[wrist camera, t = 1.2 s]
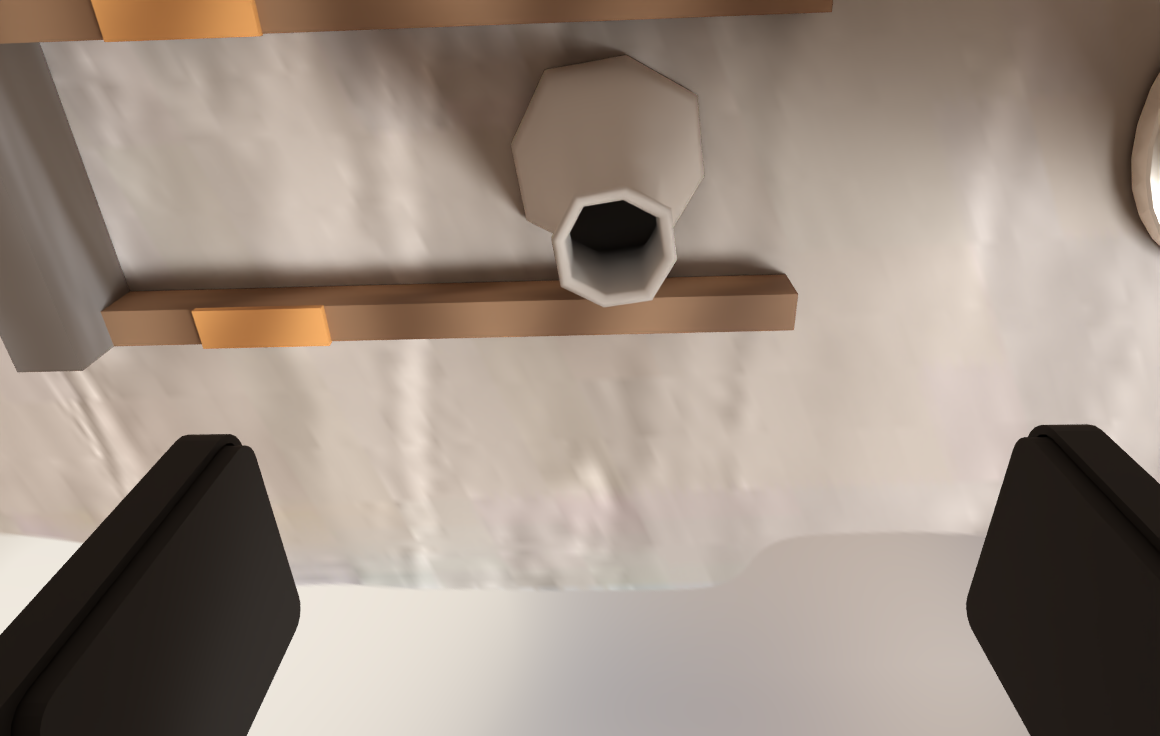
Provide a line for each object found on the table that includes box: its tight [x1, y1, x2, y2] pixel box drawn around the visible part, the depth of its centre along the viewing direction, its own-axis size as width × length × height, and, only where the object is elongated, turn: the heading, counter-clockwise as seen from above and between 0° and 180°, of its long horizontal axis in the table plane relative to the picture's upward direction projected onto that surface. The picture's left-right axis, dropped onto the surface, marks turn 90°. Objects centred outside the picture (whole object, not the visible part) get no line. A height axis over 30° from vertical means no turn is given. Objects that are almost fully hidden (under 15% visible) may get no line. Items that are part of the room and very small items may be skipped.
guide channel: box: [0, 0, 833, 372], centre depth 25 cm, size 29×13×4 cm, turn 92°
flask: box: [511, 55, 704, 307], centre depth 22 cm, size 7×7×10 cm
